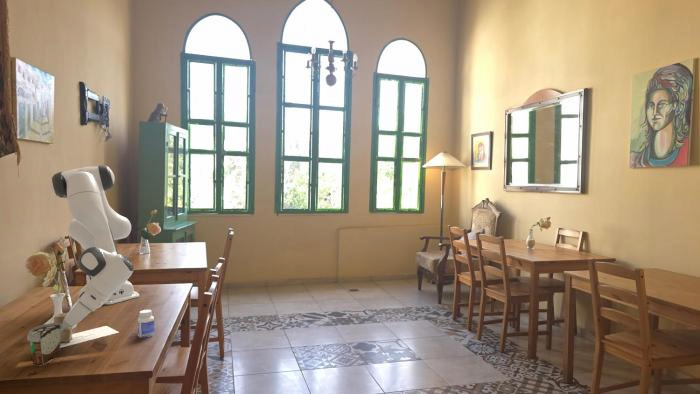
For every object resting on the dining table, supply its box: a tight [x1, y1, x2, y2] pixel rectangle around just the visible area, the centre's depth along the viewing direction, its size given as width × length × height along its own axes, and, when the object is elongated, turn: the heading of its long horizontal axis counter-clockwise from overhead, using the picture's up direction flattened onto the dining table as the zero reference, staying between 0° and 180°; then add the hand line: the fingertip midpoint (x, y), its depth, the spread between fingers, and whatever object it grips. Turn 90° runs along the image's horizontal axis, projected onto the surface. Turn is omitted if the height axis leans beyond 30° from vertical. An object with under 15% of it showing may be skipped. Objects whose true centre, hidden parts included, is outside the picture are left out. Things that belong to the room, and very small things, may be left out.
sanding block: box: [54, 312, 73, 343], centre depth 153 cm, size 4×4×9 cm
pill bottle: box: [137, 309, 156, 339], centre depth 160 cm, size 5×5×10 cm
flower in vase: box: [41, 265, 78, 330], centre depth 165 cm, size 13×11×25 cm
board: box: [60, 325, 120, 349], centre depth 158 cm, size 20×11×1 cm, turn 141°
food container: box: [26, 322, 62, 366], centre depth 141 cm, size 12×6×10 cm, turn 5°
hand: (61, 327), depth 153 cm, fingers closed on sanding block, 4 cm apart
